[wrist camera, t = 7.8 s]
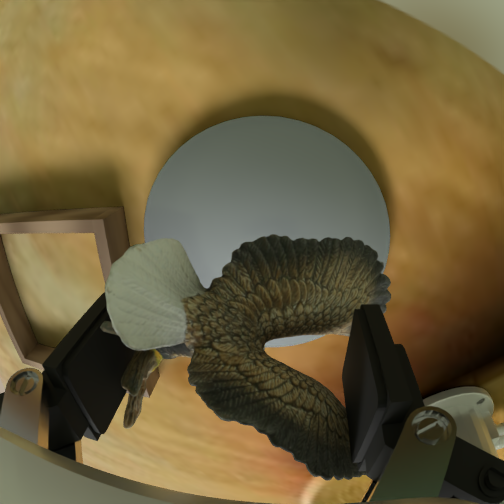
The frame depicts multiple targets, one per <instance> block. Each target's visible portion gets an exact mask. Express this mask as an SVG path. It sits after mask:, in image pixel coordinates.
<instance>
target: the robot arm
mask: <svg viewBox="0 0 504 504" xmlns="http://www.w3.org/2000/svg"><path fill="white" fill-rule="evenodd" d="M104 321H110V322H111V319H110V316H109V314H108V311H107V301H106V296H105V293H103V294H102V295H101V296H100V297H99V298H98V299H97V300H96V302H95V303H94V304H93V305H92V306H91V307H90V308H89V309H88V311H87V312H86V313H85V314H84V315H83V316H82V317H81V319H80V320H79V321H78V322H77V323H76V324H75V325H74V327H73V328H72V329H71V330H70V331H69V332H68V334H67V335H66V336H65V337H64V338H63V340H62V341H61V342H60V343H59V344H58V346H57V347H56V348H55V349H54V350H53V352H52V353H51V354H50V355H49V357H48V358H47V359H46V360H45V361H44V363H43V364H42V366H43V368H44V371H43V372H42V374H41V372H40V371H39V370H37V369H35V368H25V369H21V370H19V371H17V372H16V373H14V374H13V375H12V376H11V377H10V379H9V380H8V382H7V385H6V389H5V392H4V393H1V394H0V504H270V503H255V502H244V501H235V500H226V499H219V498H212V497H206V496H199V495H194V494H188V493H183V492H178V491H173V490H169V489H164V488H160V487H156V486H152V485H148V484H144V483H140V482H136V481H133V480H129V479H126V478H123V477H119V476H116V475H113V474H110V473H107V472H104V471H101V470H98V469H95V468H92V467H90V466H87V465H84V464H83V460H82V448H81V439H82V437H83V435H84V437H87V438H90V439H93V440H96V441H98V439H99V437H100V435H101V434H104V433H105V432H106V430H107V429H108V427H109V425H110V423H111V421H112V419H113V417H114V415H115V413H116V411H117V409H118V407H119V405H120V403H121V401H122V399H123V397H124V395H125V394H126V392H127V390H126V389H124V388H123V387H122V385H121V378H122V375H123V373H124V372H125V370H126V368H127V366H128V364H129V362H130V361H131V359H132V357H133V354H134V352H135V350H132V349H130V348H129V347H127V346H126V345H125V344H124V343H123V342H122V341H121V338H120V337H119V336H118V335H115V334H111V333H107V332H104V331H102V330H101V328H100V326H101V324H102V323H103V322H104ZM342 381H343V388H344V396H345V405H346V413H347V421H348V429H349V442H350V453H351V461H352V463H357V466H358V472H359V471H366V473H367V476H368V477H369V478H371V479H372V481H371V483H370V485H369V487H368V489H367V490H366V492H365V494H364V496H363V498H362V499H361V501H360V503H346V504H504V461H503V460H501V459H499V457H498V454H497V452H496V450H497V449H500V448H503V447H504V422H503V423H500V424H498V425H496V424H495V423H494V421H493V419H492V414H493V411H494V403H493V401H492V398H491V396H490V395H489V393H488V392H487V391H486V390H484V389H483V388H479V387H459V388H453V389H450V390H446V391H443V392H440V393H438V394H435V395H432V396H430V397H428V398H426V399H424V400H423V399H422V396H421V393H420V390H419V387H418V384H417V382H416V379H415V376H414V373H413V370H412V368H411V365H410V362H409V359H408V357H407V354H406V351H405V349H404V347H403V345H401V344H394V342H393V340H392V337H391V334H390V331H389V329H388V326H387V323H386V321H385V318H384V315H383V313H382V310H381V308H380V306H379V304H362V305H361V306H360V309H355V310H354V314H353V320H352V326H351V331H350V337H349V342H348V347H347V352H346V357H345V362H344V366H343V372H342Z"/></svg>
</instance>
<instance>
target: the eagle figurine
mask: <svg viewBox="0 0 504 504" xmlns="http://www.w3.org/2000/svg"><path fill="white" fill-rule="evenodd" d="M377 259H378V253H377V251H376V250H373V249H372V248H371V247H370V246H368V245H364V243H363V241H362V240H353V239H352V238H351V237H345V238H344V239H342V240H340V239H337V238H330V237H327V238H324V239H322V240H321V241H318V240H317V239H314V238H311V239H305V238H298V239H295V240H291V239H290V238H289V237H288V236H278V235H276V234H272V235H270V236H267V237H265V236H263V237H260V238H258V239H256V240H255V241H253V242H244V243H242V244H241V245H240V248H239V249H236V250H234V251H233V252H232V258H231V262H229V263H227V264H226V265H225V266H224V267H223V268H222V276H221V277H218V278H214V279H213V280H212V282H211V285H210V287H209V288H204V287H203V285H202V284H201V283H200V280H199V278H198V276H197V274H196V272H195V270H194V268H193V266H192V264H191V262H190V261H189V258H188V256H187V253H186V251H185V250H184V248H183V246H182V244H181V243H180V242H179V241H178V240H175V239H173V238H171V239H167V238H162V239H157V240H154V241H150V242H148V243H143V244H137V245H133V246H131V247H130V248H128V250H127V251H126V252H125V253H124V255H123V256H122V257H121V258H119V259H118V260H117V261H115V262H114V263H113V264H112V266H111V269H110V274H109V276H108V279H107V281H106V283H105V296H106V301H107V311H108V314H109V316H110V319H111V322H110V321H104V322H103V323H102V324H101V326H100V328H101V330H102V331H104V332H107V333H111V334H115V335H118V336H119V337H120V338H121V341H122V342H123V343H124V344H125V345H126V346H127V347H129V348H130V349H132V350H135V352H134V354H133V357H132V359H131V361H130V362H129V364H128V366H127V368H126V370H125V372H124V373H123V375H122V378H121V385H122V387H123V388H124V389H126V390H128V392H129V398H128V404H127V407H126V410H125V415H124V428H131V427H132V426H133V424H134V423H135V421H136V419H137V418H138V416H139V414H140V412H141V405H142V399H143V395H144V393H145V391H146V381H147V378H148V377H149V376H150V374H151V373H152V372H153V371H154V370H155V369H156V368H157V367H158V365H159V364H160V362H161V360H162V359H172V358H176V357H177V356H182V357H189V358H191V364H190V365H189V366H188V369H187V371H188V373H189V378H188V380H189V383H190V385H192V386H196V390H195V391H196V393H197V394H198V395H199V396H200V397H201V399H202V400H203V401H204V402H205V403H206V405H207V406H208V407H209V408H210V409H212V410H213V411H214V413H215V414H216V415H217V416H218V417H219V418H220V419H221V420H224V421H237V422H239V423H240V424H243V425H250V426H253V427H254V428H255V429H256V430H257V431H258V432H259V433H262V434H265V435H267V436H268V438H269V440H270V442H271V444H272V445H273V446H275V447H280V448H282V449H283V450H285V451H287V452H290V453H291V454H292V455H293V457H294V460H296V461H298V462H301V463H304V464H305V465H306V467H307V469H308V471H309V472H310V474H311V475H313V476H314V477H318V476H321V477H322V478H323V479H325V480H331V479H332V477H333V476H334V477H335V478H336V479H337V480H341V479H343V477H344V478H345V479H348V480H349V479H352V477H361V476H362V475H367V473H366V471H359V472H358V466H357V463H352V461H351V453H350V442H349V429H348V421H347V413H346V408H345V407H344V406H343V405H342V404H341V402H340V401H339V400H338V399H337V398H336V397H335V396H334V394H333V393H332V392H331V391H330V390H329V389H328V388H326V387H325V386H323V385H322V384H321V383H319V382H318V381H316V380H315V379H313V378H311V377H309V376H307V375H305V374H303V373H301V372H299V371H297V370H295V369H293V368H291V367H289V366H287V365H285V364H284V363H282V362H279V361H277V360H275V359H273V358H271V357H270V356H268V355H267V354H266V352H265V351H264V349H265V343H266V342H268V341H270V340H273V339H279V338H286V337H294V336H301V335H327V334H338V335H345V336H350V331H351V326H352V320H353V314H354V310H355V309H360V306H361V305H362V304H379V306H380V308H381V310H382V313H385V311H386V305H385V304H386V303H387V302H389V301H390V299H391V294H390V292H389V291H388V290H387V288H388V287H389V286H390V283H391V282H390V279H389V278H388V277H387V276H386V275H384V274H381V272H382V270H383V269H384V263H383V262H380V261H378V260H377Z"/></svg>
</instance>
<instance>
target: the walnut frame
mask: <svg viewBox="0 0 504 504" xmlns="http://www.w3.org/2000/svg"><path fill="white" fill-rule="evenodd" d="M12 233H94V234H95V239H96V244H97V249H98V254H99V259H100V263H101V268H102V272H103V276H104V280H105V283H106V281H107V279H108V276H109V274H110V269H111V266H112V264H113V263H114V262H115V261H117V260H118V259H119V258H121V257H122V256H123V255H124V253H125V252H126V251H127V250H128V248H130V245H129V240H128V233H127V227H126V221H125V214H124V207H103V208H82V209H64V210H48V211H33V212H20V213H7V214H0V234H12ZM0 315H1V317H2V320H3V322H4V324H5V327H6V329H7V331H8V333H9V336H10V338H11V340H12V342H13V344H14V346H15V348H16V350H17V353H18V355H19V357H20V359H21V360H22V362H23V363H24V364H27V365H30V366H33V367H36V368H39V369H42V370H44V368H43V366H42V364H43V363H44V361H45V360H46V359H47V358H48V357H49V355H50V354H51V353H52V352H53V350H54V349H55V348H52V347H48V346H45V345H41V344H38V343H37V340H36V338H35V336H34V333H33V331H32V329H31V326H30V324H29V321H28V319H27V316H26V314H25V311H24V309H23V306H22V303H21V301H20V298H19V295H18V292H17V289H16V286H15V283H14V280H13V277H12V274H11V271H10V268H9V264H8V261H7V258H6V254H5V251H4V247H3V243H2V239H1V235H0ZM159 377H160V376H159V372H158V369H157V368H156V369H155V370H154V371H153V372H152V373H151V374H150V376H149V377H148V378H147V381H146V391H145V393H144V395H143V396H144V397H149V398H150V395H151V393H152V391H153V389H154V387H155V385H156V383H157V381H158V379H159ZM126 393H129V392H128V390H127V392H126Z"/></svg>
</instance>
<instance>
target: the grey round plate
mask: <svg viewBox="0 0 504 504" xmlns="http://www.w3.org/2000/svg"><path fill="white" fill-rule="evenodd" d="M272 234H276V235H278V236H288V237H289V238H290V239H291V240H295V239H298V238H305V239H311V238H314V239H317V240H318V241H321V240H322V239H324V238H327V237H330V238H337V239H340V240H342V239H344V238H345V237H351V238H352V239H353V240H362V241H363V243H364V245H368V246H370V247H371V248H372V249H373V250H376V251H377V253H378V259H377V260H378V261H380V262H383V263H384V269H385V266H386V262H387V258H388V253H389V244H390V226H389V217H388V212H387V208H386V203H385V201H384V198H383V195H382V193H381V190H380V188H379V186H378V184H377V182H376V180H375V179H374V177H373V175H372V173H371V172H370V171H369V169H368V168H367V167H366V165H365V164H364V163H363V161H362V160H361V159H360V158H359V157H358V156H357V155H356V154H355V153H354V152H353V151H352V150H351V149H350V148H349V147H348V146H347V145H345V144H344V143H343V142H341V141H340V140H338V139H337V138H336V137H334V136H333V135H331V134H329V133H327V132H325V131H324V130H322V129H320V128H318V127H316V126H313V125H310V124H307V123H305V122H302V121H299V120H294V119H289V118H284V117H277V116H251V117H242V118H238V119H233V120H229V121H225V122H222V123H220V124H217V125H215V126H212V127H210V128H208V129H206V130H204V131H202V132H201V133H199V134H197V135H195V136H194V137H192V138H191V139H190V140H189V141H187V142H186V143H185V144H183V145H182V146H181V147H180V148H179V149H178V150H177V151H176V152H175V153H174V154H173V155H172V156H171V157H170V158H169V159H168V161H167V162H166V164H165V165H164V166H163V168H162V169H161V171H160V172H159V174H158V176H157V178H156V180H155V182H154V184H153V186H152V189H151V192H150V195H149V198H148V201H147V206H146V211H145V219H144V237H145V243H148V242H150V241H154V240H157V239H162V238H167V239H171V238H173V239H175V240H178V241H179V242H180V243H181V244H182V246H183V248H184V250H185V251H186V253H187V256H188V258H189V261H190V262H191V264H192V266H193V268H194V270H195V272H196V274H197V276H198V278H199V280H200V283H201V284H202V285H203V287H204V288H209V287H210V285H211V282H212V280H213V279H214V278H218V277H221V276H222V268H223V267H224V266H225V265H226V264H227V263H229V262H231V258H232V252H233V251H234V250H236V249H239V248H240V245H241V244H242V243H244V242H253V241H255V240H256V239H258V238H260V237H263V236H265V237H267V236H270V235H272ZM384 269H383V270H382V272H381V274H383V272H384ZM322 336H324V335H301V336H294V337H286V338H279V339H273V340H270V341H268V342H266V343H265V347H284V346H293V345H297V344H302V343H306V342H309V341H312V340H315V339H318V338H320V337H322Z"/></svg>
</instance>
